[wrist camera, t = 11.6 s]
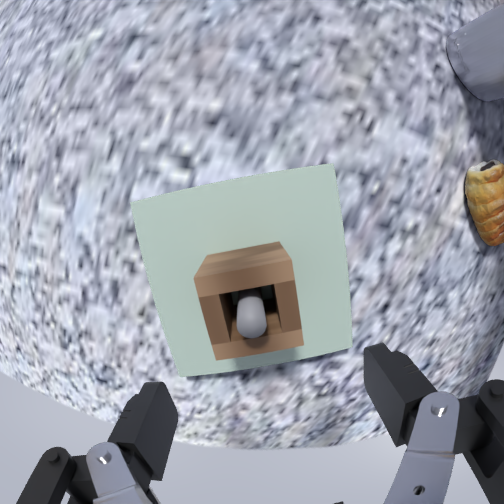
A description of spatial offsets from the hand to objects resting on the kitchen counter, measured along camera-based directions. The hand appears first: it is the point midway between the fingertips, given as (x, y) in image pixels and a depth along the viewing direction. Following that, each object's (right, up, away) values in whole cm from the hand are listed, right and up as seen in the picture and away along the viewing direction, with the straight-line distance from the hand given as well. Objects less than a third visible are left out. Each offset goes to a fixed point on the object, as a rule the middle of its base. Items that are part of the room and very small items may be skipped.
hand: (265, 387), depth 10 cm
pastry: (+25, +11, +13) cm, 30 cm away
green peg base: (-1, +3, +14) cm, 14 cm away
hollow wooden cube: (-1, +3, +12) cm, 13 cm away
